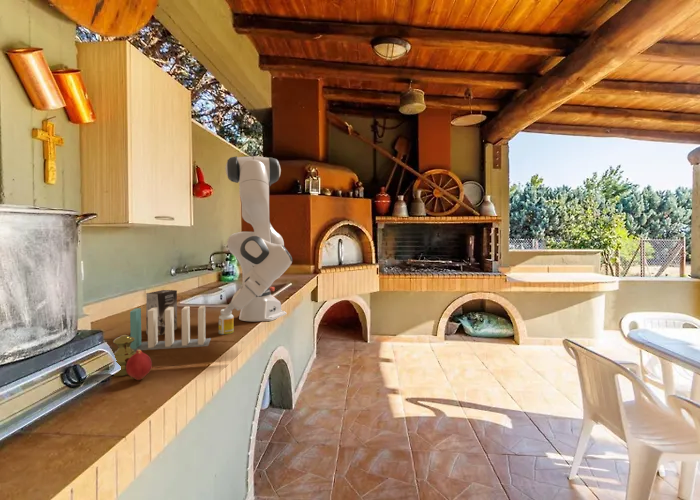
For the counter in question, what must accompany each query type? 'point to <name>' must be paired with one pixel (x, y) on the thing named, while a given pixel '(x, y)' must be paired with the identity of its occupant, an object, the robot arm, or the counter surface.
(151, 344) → the domino
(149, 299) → the coffee box
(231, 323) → the supplement bottle
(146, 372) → the onion
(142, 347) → the slate board
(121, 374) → the olive waisted piece
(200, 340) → the domino
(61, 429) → the counter surface
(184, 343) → the domino
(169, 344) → the domino
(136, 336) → the domino
